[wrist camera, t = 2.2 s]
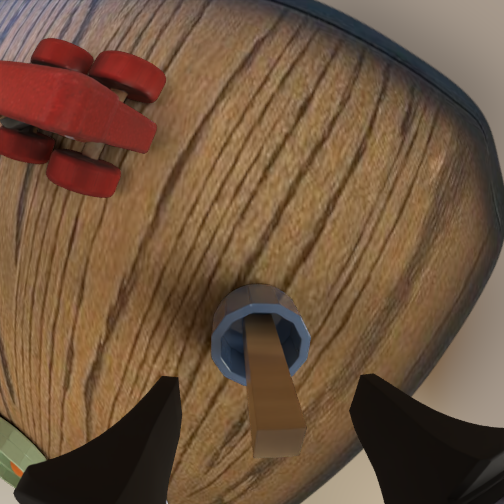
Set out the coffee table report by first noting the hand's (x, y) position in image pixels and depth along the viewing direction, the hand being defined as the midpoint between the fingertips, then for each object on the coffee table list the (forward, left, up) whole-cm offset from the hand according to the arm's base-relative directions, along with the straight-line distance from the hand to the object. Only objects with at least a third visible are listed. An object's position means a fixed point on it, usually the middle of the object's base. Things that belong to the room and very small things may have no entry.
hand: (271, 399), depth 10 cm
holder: (0, 0, -7) cm, 7 cm away
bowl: (-21, +28, -7) cm, 36 cm away
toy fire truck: (+12, +11, -7) cm, 18 cm away
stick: (0, 0, -7) cm, 7 cm away
